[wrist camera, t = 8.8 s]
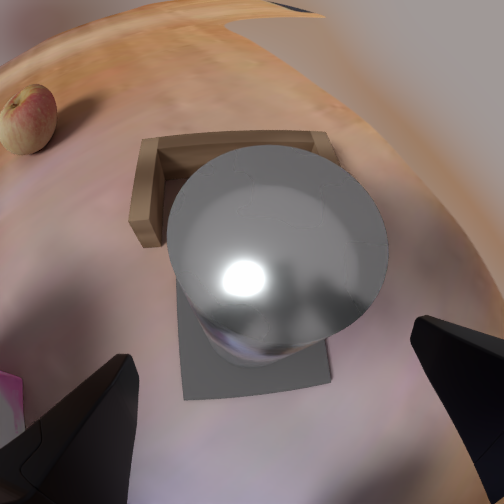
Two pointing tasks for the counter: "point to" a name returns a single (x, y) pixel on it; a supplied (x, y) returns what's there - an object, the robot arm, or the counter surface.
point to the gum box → (10, 408)
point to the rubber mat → (234, 377)
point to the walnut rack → (191, 159)
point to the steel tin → (275, 251)
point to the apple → (28, 120)
